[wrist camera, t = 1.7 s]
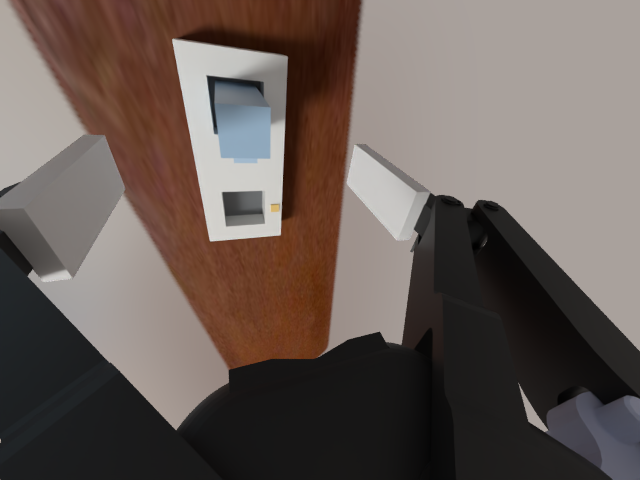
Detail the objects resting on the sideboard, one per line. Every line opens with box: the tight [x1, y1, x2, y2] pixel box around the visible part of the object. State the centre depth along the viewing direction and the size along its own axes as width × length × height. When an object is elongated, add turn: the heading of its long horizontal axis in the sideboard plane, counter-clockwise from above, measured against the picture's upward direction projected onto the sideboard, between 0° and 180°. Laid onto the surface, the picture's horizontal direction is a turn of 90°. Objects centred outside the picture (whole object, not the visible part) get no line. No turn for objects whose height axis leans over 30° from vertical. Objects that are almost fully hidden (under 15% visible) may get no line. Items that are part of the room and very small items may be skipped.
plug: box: [214, 80, 271, 163], centre depth 21 cm, size 4×4×10 cm
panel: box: [172, 38, 288, 241], centre depth 27 cm, size 20×9×3 cm, turn 173°
